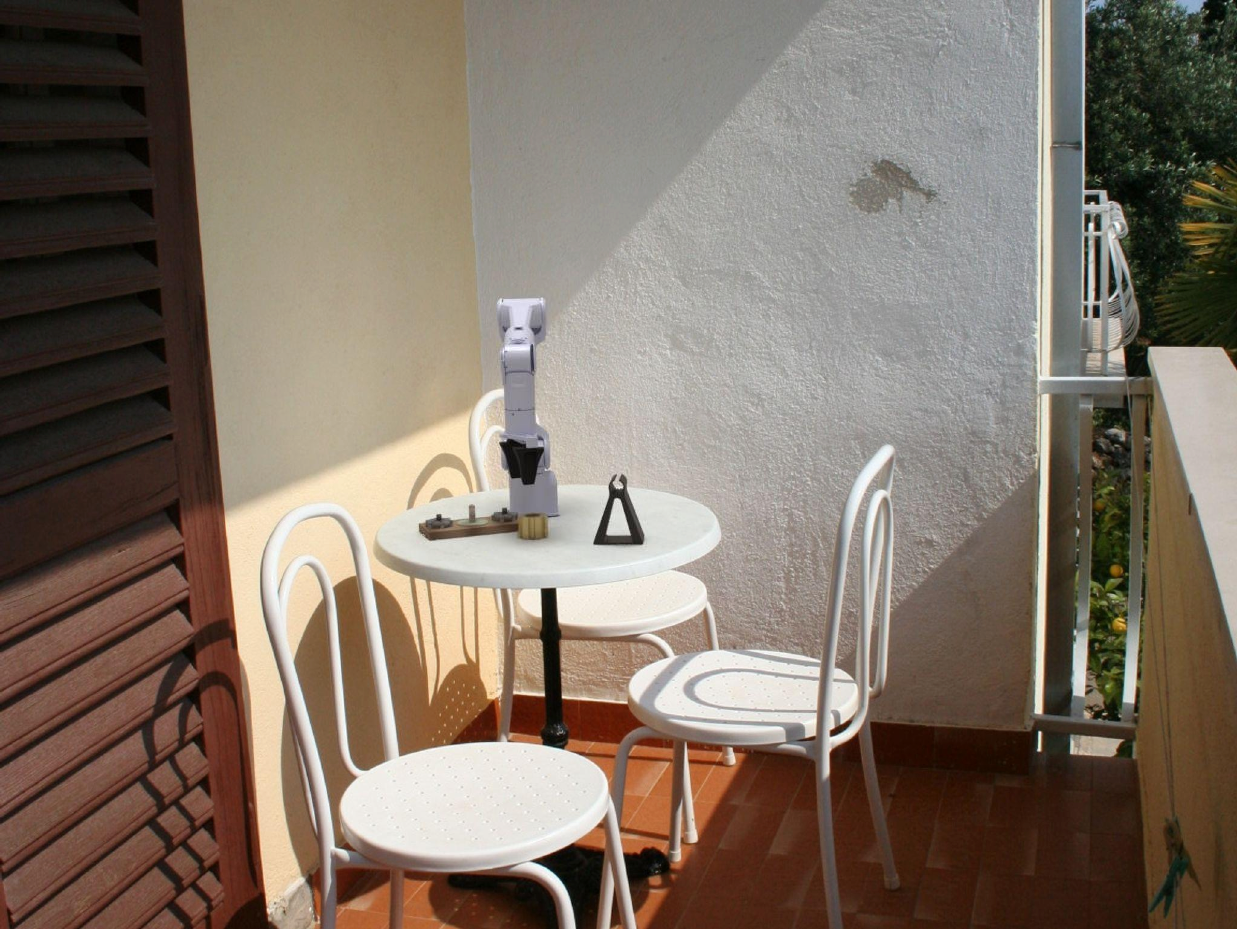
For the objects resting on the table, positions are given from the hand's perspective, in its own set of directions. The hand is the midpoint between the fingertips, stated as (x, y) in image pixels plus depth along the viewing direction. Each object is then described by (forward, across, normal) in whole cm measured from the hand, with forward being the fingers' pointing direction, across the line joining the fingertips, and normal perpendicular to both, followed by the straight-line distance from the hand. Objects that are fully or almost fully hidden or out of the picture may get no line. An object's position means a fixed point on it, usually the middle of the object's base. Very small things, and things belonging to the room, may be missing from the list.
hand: (522, 481), depth 230 cm
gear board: (+10, -9, -8) cm, 16 cm away
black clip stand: (+11, +12, +14) cm, 22 cm away
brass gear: (+10, +1, +1) cm, 11 cm away
